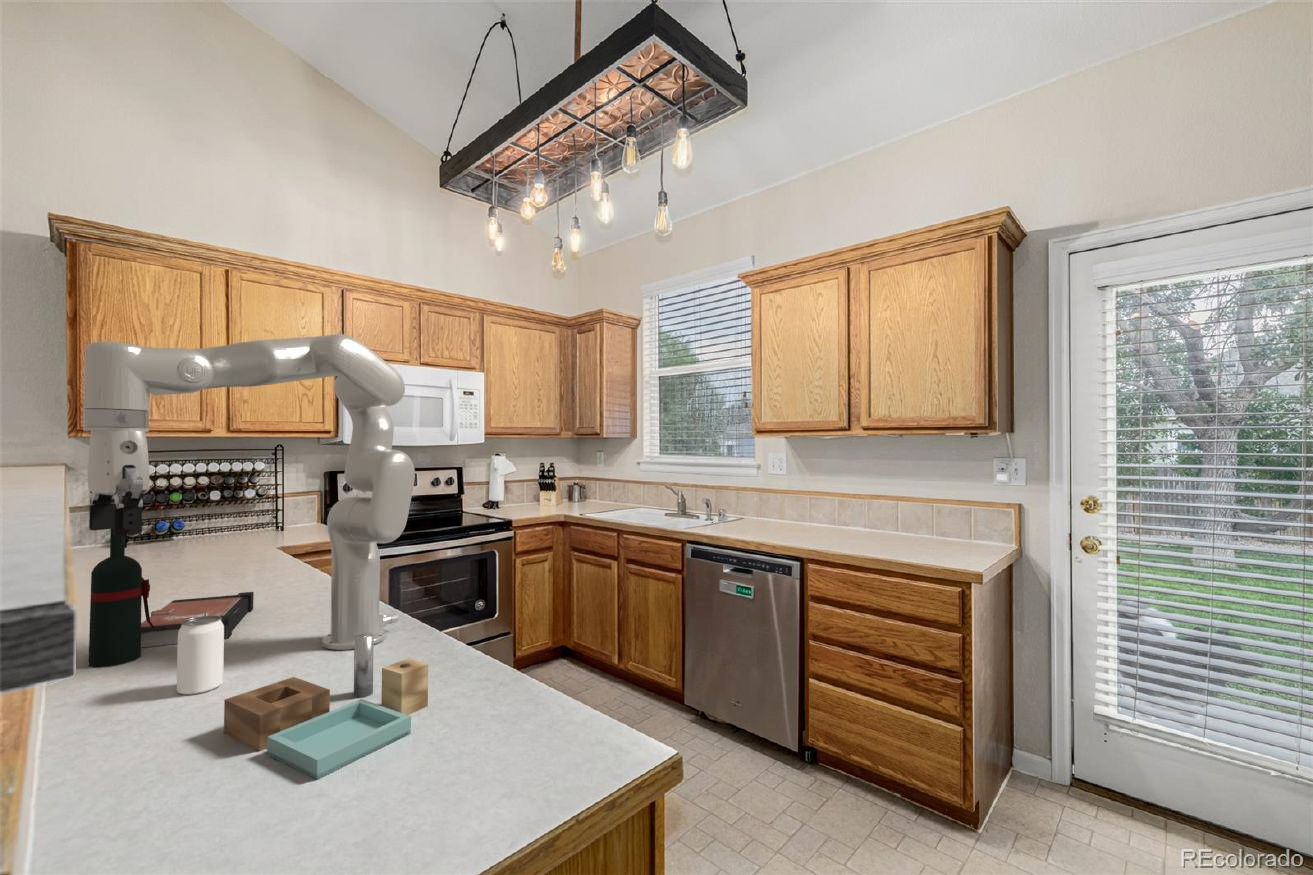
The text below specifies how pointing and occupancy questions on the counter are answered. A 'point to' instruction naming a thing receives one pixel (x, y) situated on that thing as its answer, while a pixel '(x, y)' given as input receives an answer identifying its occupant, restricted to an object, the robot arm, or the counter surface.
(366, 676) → the cylinder
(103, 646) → the wine bottle
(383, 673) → the oak block
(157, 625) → the book
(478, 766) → the counter surface
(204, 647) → the can
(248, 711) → the bore block
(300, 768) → the tray
